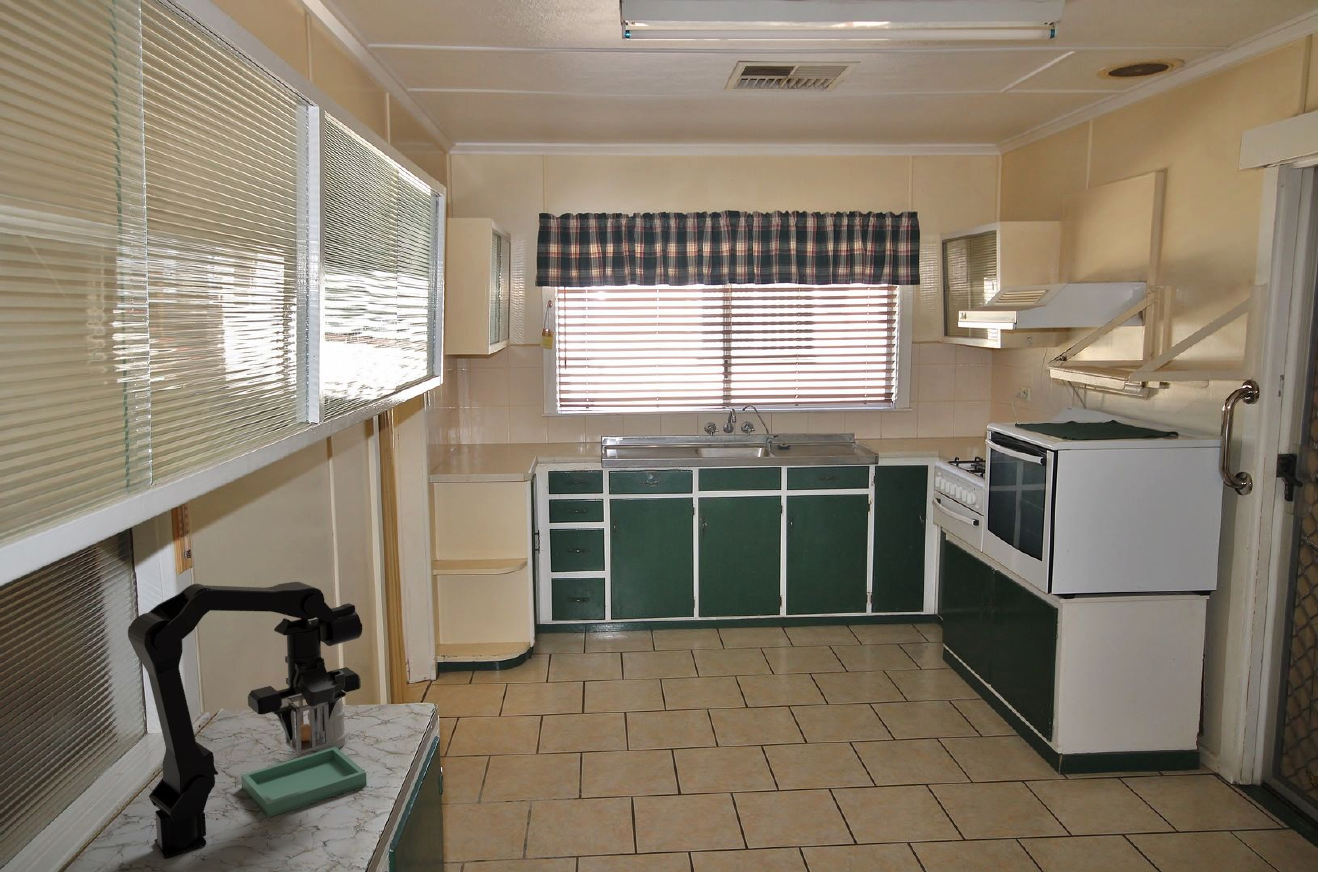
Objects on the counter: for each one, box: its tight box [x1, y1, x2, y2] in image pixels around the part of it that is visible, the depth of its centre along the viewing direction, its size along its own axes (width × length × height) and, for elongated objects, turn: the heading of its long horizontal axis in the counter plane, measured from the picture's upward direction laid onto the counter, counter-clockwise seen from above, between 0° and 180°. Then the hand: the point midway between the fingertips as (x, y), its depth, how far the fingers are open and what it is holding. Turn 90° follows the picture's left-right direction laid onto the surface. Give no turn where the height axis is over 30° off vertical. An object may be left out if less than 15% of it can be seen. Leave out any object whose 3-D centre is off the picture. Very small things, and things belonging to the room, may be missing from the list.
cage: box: [284, 696, 330, 755], centre depth 174 cm, size 6×6×8 cm
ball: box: [300, 723, 311, 741], centre depth 175 cm, size 3×3×3 cm
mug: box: [307, 697, 348, 752], centre depth 197 cm, size 8×12×12 cm, turn 17°
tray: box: [240, 747, 368, 818], centre depth 178 cm, size 18×14×2 cm
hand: (307, 734), depth 175 cm, fingers closed on cage, 6 cm apart
